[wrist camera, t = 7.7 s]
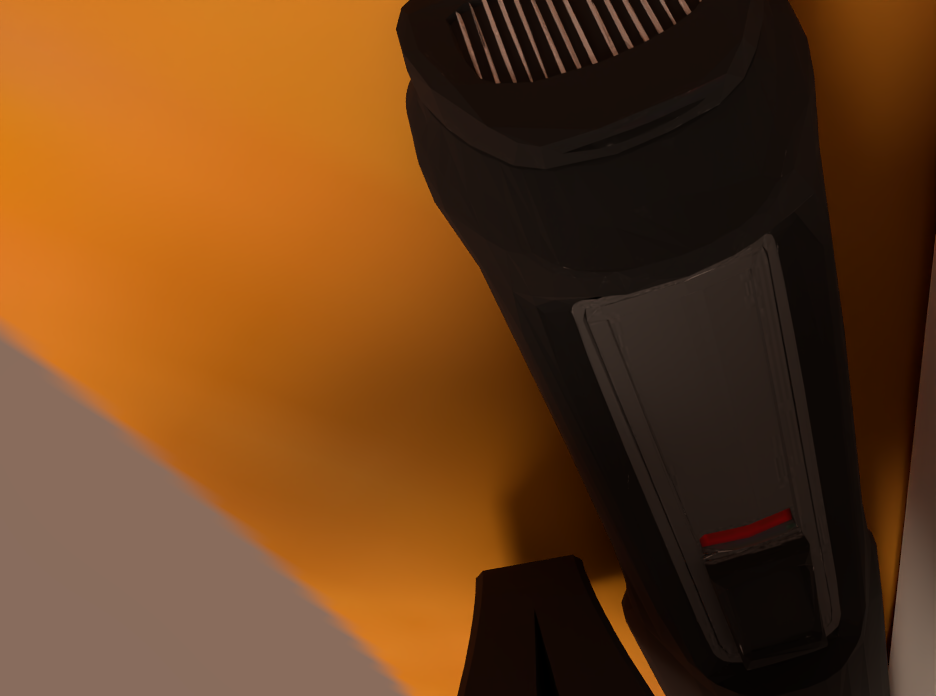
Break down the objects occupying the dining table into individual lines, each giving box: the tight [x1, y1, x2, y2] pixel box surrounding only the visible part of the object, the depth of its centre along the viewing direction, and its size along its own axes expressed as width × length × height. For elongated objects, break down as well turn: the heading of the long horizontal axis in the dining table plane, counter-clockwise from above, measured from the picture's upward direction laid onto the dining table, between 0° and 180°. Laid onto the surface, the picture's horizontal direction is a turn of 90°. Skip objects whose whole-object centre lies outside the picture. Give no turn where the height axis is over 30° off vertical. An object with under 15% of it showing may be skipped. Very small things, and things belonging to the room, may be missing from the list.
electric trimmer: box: [396, 0, 890, 696], centre depth 11 cm, size 4×16×3 cm, turn 20°
